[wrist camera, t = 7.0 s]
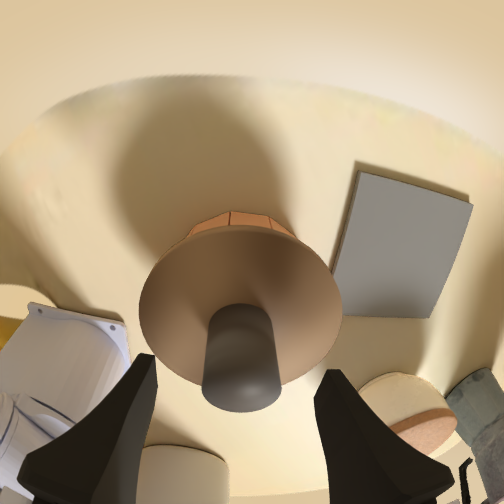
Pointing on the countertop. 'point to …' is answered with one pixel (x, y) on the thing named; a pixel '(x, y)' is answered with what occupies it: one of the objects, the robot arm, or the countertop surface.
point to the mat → (397, 248)
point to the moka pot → (481, 431)
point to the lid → (240, 313)
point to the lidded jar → (411, 409)
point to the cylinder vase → (181, 477)
